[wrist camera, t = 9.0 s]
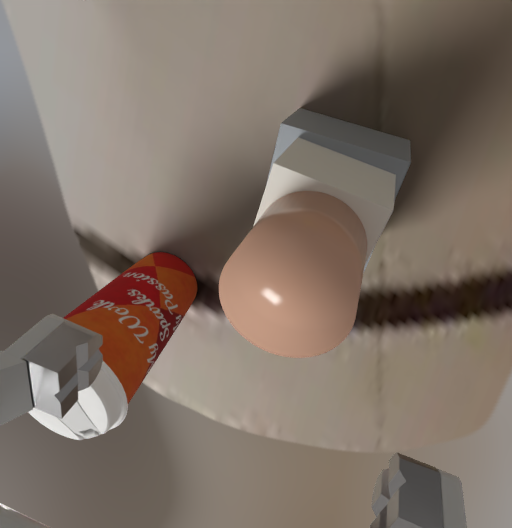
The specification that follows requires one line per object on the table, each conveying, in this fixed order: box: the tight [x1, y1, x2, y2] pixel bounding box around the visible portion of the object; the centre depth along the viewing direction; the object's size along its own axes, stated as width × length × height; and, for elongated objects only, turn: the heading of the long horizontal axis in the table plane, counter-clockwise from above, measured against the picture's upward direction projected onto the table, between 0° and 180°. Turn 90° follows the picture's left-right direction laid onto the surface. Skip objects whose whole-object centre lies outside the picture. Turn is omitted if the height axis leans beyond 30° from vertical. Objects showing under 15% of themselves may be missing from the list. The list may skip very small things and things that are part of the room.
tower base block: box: [266, 108, 411, 273], centre depth 26 cm, size 7×7×5 cm
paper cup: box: [29, 252, 197, 440], centre depth 31 cm, size 8×8×14 cm
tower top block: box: [253, 137, 396, 264], centre depth 22 cm, size 6×6×5 cm
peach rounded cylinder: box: [219, 191, 368, 358], centre depth 18 cm, size 5×5×5 cm
